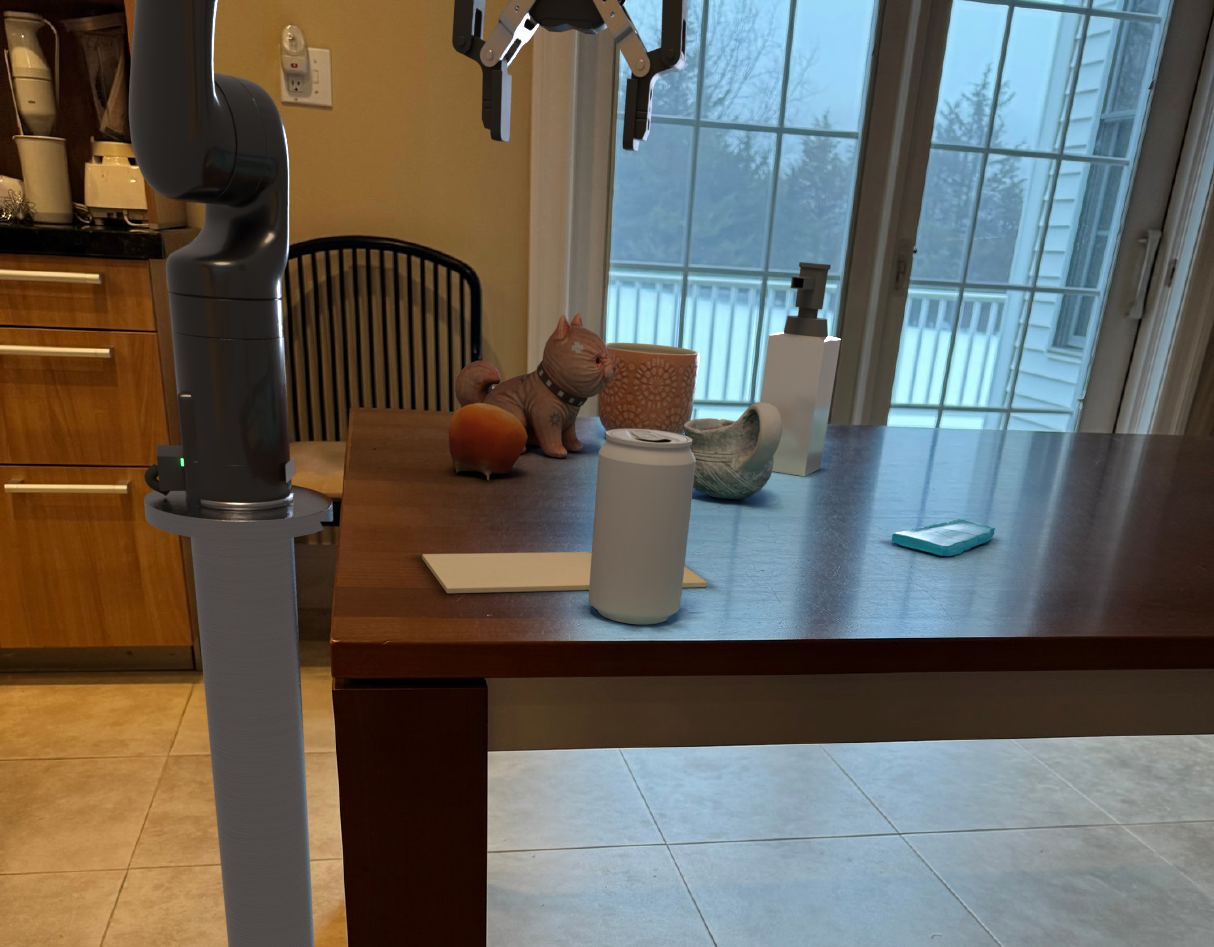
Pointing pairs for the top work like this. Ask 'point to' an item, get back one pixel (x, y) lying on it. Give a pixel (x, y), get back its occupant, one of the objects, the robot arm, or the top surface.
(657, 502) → the beverage can
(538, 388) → the figurine
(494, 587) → the board
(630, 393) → the planter
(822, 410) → the soap dispenser
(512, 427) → the fruit
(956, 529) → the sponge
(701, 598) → the top surface
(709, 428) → the mug
